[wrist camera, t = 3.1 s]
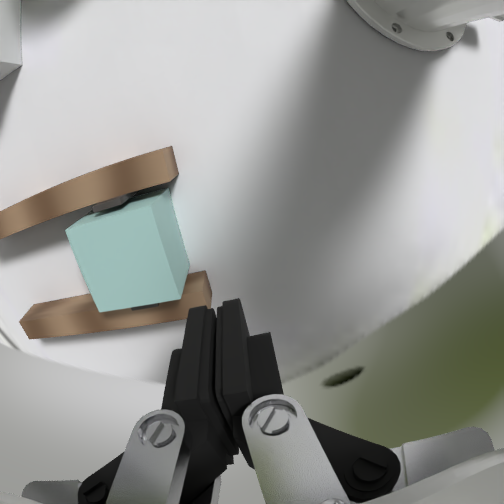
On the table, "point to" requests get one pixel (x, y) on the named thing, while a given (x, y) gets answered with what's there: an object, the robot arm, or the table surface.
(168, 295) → the block
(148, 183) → the wooden rail pair
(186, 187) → the table surface
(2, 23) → the holder
